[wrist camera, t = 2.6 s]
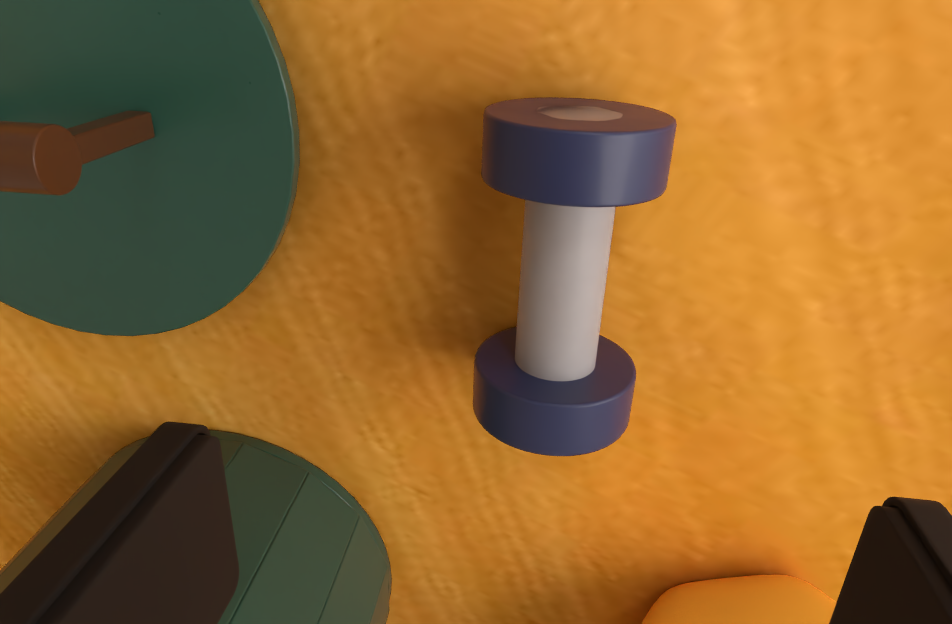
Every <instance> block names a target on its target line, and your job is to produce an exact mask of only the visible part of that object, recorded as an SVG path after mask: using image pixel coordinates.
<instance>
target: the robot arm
mask: <svg viewBox="0 0 952 624" xmlns="http://www.w3.org/2000/svg"><path fill="white" fill-rule="evenodd" d="M238 579H239V563H238V557H237V550H236V543H235V537H234V530H233V524H232V517H231V510H230V504H229V497H228V491H227V484H226V477H225V471H224V464H223V458H222V451H221V445H220V441H219V439H218V438H217V437H215V436H211V435H210V431H209V430H208V428H207V427H206V426H203V425H196V424H186V423H177V422H166V423H163V424H162V425H161V426H159V427H158V428H157V430H156V431H155V432H154V433H153V434H152V435H151V436H150V437H149V438H148V439H147V440H146V441H145V442H144V443H143V444H142V445H141V446H140V447H139V448H138V450H137V451H136V452H135V453H134V454H133V455H132V456H131V457H130V458H129V459H128V460H127V461H126V462H125V463H124V464H123V465H122V466H121V467H120V468H119V469H118V471H117V472H116V473H115V474H114V475H113V476H112V477H111V478H110V479H109V480H108V481H107V482H106V483H105V484H104V485H103V486H102V487H101V488H100V489H99V491H98V492H97V493H96V494H95V495H94V496H93V497H92V498H91V499H90V500H89V501H88V502H87V503H86V504H85V505H84V506H83V507H82V508H81V509H80V511H79V512H78V513H77V514H76V515H75V516H74V517H73V518H72V519H71V520H70V521H69V522H68V523H67V524H66V525H65V526H64V527H63V528H62V529H61V531H60V532H59V533H58V534H57V535H56V536H55V537H54V538H53V539H52V540H51V541H50V542H49V543H48V544H47V545H46V546H45V547H44V548H43V549H42V550H41V552H40V553H39V554H38V555H37V556H36V557H35V558H34V559H33V560H32V561H31V562H30V563H29V564H28V565H27V566H26V567H25V568H24V569H23V570H22V572H21V573H20V574H19V575H18V576H17V577H16V578H15V579H14V580H13V581H12V582H11V583H10V584H9V585H8V586H7V587H6V588H5V589H4V590H3V592H2V593H1V594H0V624H218V622H219V620H220V618H221V616H222V615H223V613H224V611H225V609H226V607H227V606H228V604H229V602H230V600H231V599H232V597H233V595H234V593H235V590H236V587H237V584H238ZM829 624H952V516H951V514H950V513H949V512H948V510H947V509H946V508H945V507H944V506H943V505H942V504H941V503H939V502H936V501H931V500H921V499H912V498H902V497H889V498H888V499H887V500H885V501H884V503H883V505H882V506H874V507H873V508H872V509H871V510H870V512H869V514H868V517H867V520H866V523H865V525H864V528H863V531H862V534H861V536H860V539H859V542H858V545H857V548H856V550H855V553H854V556H853V559H852V561H851V564H850V567H849V570H848V572H847V575H846V578H845V581H844V583H843V586H842V589H841V592H840V595H839V597H838V600H837V603H836V606H835V608H834V611H833V614H832V617H831V619H830V622H829Z"/></svg>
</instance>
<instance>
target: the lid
mask: <svg viewBox="0 0 952 624" xmlns="http://www.w3.org/2000/svg"><path fill="white" fill-rule="evenodd" d="M299 164H300V149H299V125H298V118H297V111H296V104H295V97H294V93H293V89H292V85H291V82H290V78H289V74H288V70H287V67H286V63H285V60H284V57H283V54H282V52H281V49H280V47H279V44H278V42H277V39H276V36H275V34H274V31H273V29H272V26H271V24H270V22H269V20H268V18H267V16H266V15H265V13H264V11H263V9H262V7H261V5H260V3H259V1H258V0H0V301H1V302H3V303H5V304H7V305H9V306H11V307H13V308H15V309H17V310H19V311H21V312H23V313H25V314H28V315H30V316H33V317H36V318H38V319H41V320H44V321H46V322H49V323H51V324H54V325H58V326H62V327H66V328H69V329H73V330H77V331H81V332H88V333H95V334H102V335H116V336H137V335H147V334H157V333H162V332H166V331H170V330H174V329H178V328H182V327H185V326H187V325H190V324H192V323H195V322H197V321H200V320H202V319H205V318H206V317H208V316H210V315H211V314H213V313H215V312H216V311H218V310H220V309H221V308H223V307H225V306H226V305H227V304H228V303H230V302H231V301H232V300H233V299H234V298H235V297H237V296H238V295H239V294H240V293H241V292H243V291H244V290H245V289H246V288H247V287H248V286H249V285H250V284H251V283H252V282H253V280H254V279H255V278H256V277H257V276H258V275H259V273H260V272H261V271H262V270H263V269H264V268H265V266H266V265H267V263H268V261H269V260H270V258H271V257H272V255H273V253H274V252H275V250H276V248H277V247H278V245H279V243H280V241H281V238H282V236H283V234H284V231H285V229H286V226H287V224H288V222H289V219H290V215H291V211H292V207H293V203H294V199H295V196H296V191H297V182H298V173H299Z"/></svg>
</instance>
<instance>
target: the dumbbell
mask: <svg viewBox="0 0 952 624" xmlns="http://www.w3.org/2000/svg"><path fill="white" fill-rule="evenodd" d="M836 603H837V602H835V601H834V600H833V599H831V598H830V597H829V596H827V595H826V594H825V593H823V592H822V591H821V590H819V589H818V588H816V587H814V586H813V585H811V584H810V583H808V582H806V581H804V580H802V579H799V578H797V577H793V576H787V575H753V576H741V577H730V578H721V579H711V580H704V581H696V582H690V583H686V584H681V585H678V586H675V587H673V588H670V589H668V590H667V591H666V592H664V593H663V594H662V595H661V596H660V597H659V598H658V599H657V600H656V602H655V603H654V604H653V606H652V607H651V609H650V610H649V612H648V613H647V615H646V617H645V618H644V620H643V622H642V623H641V624H829V622H830V619H831V617H832V614H833V611H834V608H835V606H836Z"/></svg>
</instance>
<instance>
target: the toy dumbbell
mask: <svg viewBox="0 0 952 624" xmlns="http://www.w3.org/2000/svg"><path fill="white" fill-rule="evenodd" d="M676 125H677V124H676V120H675V119H674V118H673V117H672V116H670V115H669V114H667V113H664V112H662V111H659V110H656V109H652V108H648V107H644V106H639V105H634V104H628V103H621V102H614V101H605V100H594V99H580V98H525V99H514V100H507V101H502V102H497V103H494V104H491V105H489V106H487V107H486V108H485V110H484V114H483V141H482V168H481V175H482V178H483V180H484V182H485V183H486V184H487V185H488V186H490V187H492V188H493V189H495V190H497V191H499V192H502V193H504V194H507V195H510V196H513V197H517V198H520V199H524V200H525V212H524V227H523V242H522V257H521V271H520V286H519V301H518V316H517V327H514V328H510V329H506V330H503V331H501V332H498V333H496V334H494V335H492V336H490V337H489V338H488V339H486V340H485V341H484V342H483V343H482V344H481V345H480V347H479V348H478V350H477V352H476V354H475V360H474V385H473V409H474V412H475V415H476V417H477V419H478V421H479V423H480V424H481V425H482V426H483V428H484V429H485V430H486V431H488V432H489V433H490V434H491V435H492V436H494V437H495V438H497V439H498V440H500V441H502V442H504V443H505V444H508V445H510V446H512V447H514V448H517V449H520V450H523V451H527V452H531V453H535V454H542V455H550V456H574V455H582V454H587V453H591V452H595V451H598V450H600V449H603V448H605V447H607V446H609V445H610V444H612V443H614V442H615V441H616V440H617V439H618V438H619V437H620V436H621V435H622V434H623V433H624V431H625V429H626V428H627V426H628V422H629V417H630V411H631V404H632V398H633V392H634V386H635V379H636V370H635V366H634V363H633V361H632V359H631V357H630V356H629V355H628V354H627V353H626V352H625V351H624V350H623V349H622V348H621V347H620V346H618V345H617V344H616V343H614V342H612V341H611V340H609V339H607V338H605V337H603V336H600V335H599V332H600V324H601V317H602V309H603V301H604V293H605V286H606V278H607V270H608V262H609V255H610V247H611V239H612V231H613V223H614V216H615V208H616V207H618V206H627V205H634V204H639V203H644V202H647V201H651V200H653V199H656V198H657V197H659V196H661V195H662V194H663V193H664V191H665V190H666V187H667V181H668V174H669V168H670V162H671V156H672V150H673V143H674V137H675V131H676Z"/></svg>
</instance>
